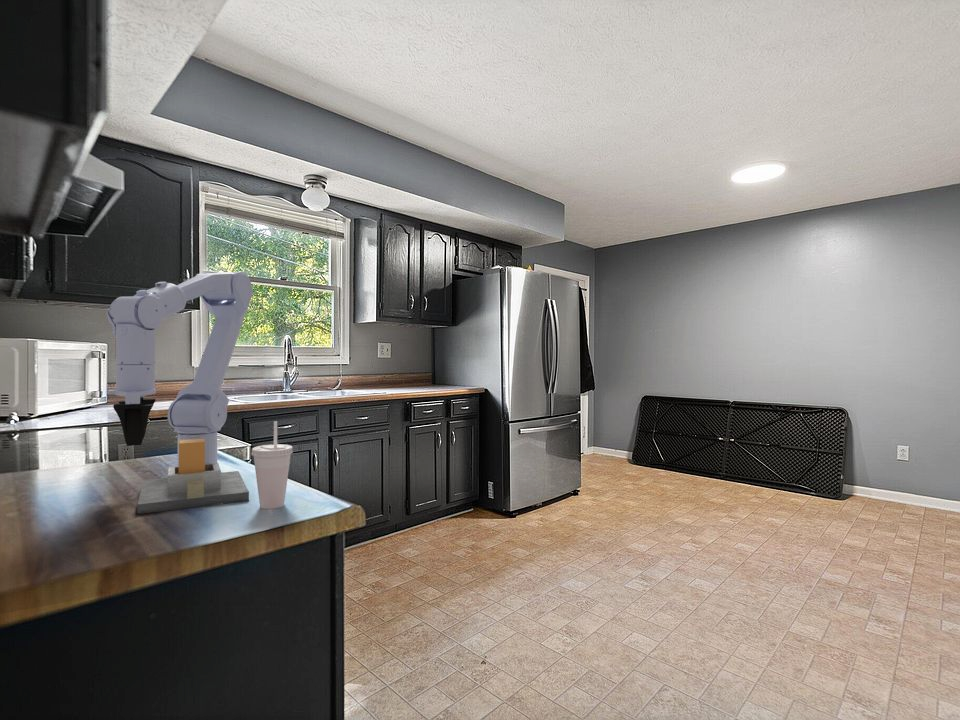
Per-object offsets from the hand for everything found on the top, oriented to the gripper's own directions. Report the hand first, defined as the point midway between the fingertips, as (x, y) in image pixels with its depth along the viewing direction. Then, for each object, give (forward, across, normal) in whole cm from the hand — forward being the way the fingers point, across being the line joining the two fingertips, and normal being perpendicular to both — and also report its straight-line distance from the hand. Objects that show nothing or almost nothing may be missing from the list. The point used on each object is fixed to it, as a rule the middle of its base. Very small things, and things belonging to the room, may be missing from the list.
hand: (135, 441), depth 93 cm
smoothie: (+10, +18, +20) cm, 29 cm away
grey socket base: (+9, +4, +9) cm, 14 cm away
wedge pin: (+8, +4, +9) cm, 12 cm away
